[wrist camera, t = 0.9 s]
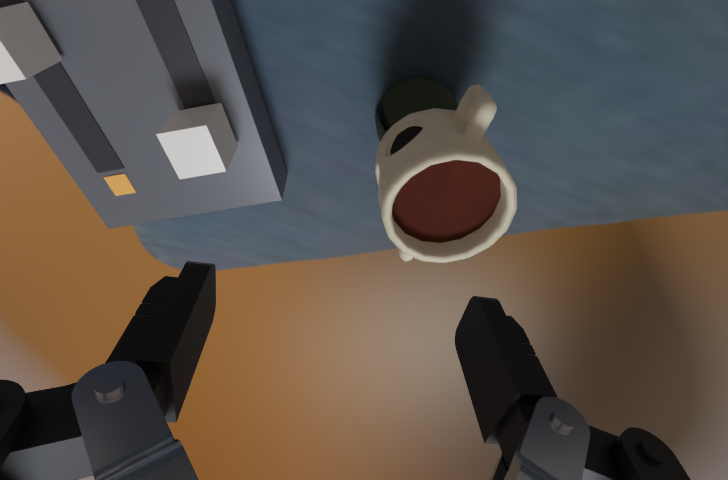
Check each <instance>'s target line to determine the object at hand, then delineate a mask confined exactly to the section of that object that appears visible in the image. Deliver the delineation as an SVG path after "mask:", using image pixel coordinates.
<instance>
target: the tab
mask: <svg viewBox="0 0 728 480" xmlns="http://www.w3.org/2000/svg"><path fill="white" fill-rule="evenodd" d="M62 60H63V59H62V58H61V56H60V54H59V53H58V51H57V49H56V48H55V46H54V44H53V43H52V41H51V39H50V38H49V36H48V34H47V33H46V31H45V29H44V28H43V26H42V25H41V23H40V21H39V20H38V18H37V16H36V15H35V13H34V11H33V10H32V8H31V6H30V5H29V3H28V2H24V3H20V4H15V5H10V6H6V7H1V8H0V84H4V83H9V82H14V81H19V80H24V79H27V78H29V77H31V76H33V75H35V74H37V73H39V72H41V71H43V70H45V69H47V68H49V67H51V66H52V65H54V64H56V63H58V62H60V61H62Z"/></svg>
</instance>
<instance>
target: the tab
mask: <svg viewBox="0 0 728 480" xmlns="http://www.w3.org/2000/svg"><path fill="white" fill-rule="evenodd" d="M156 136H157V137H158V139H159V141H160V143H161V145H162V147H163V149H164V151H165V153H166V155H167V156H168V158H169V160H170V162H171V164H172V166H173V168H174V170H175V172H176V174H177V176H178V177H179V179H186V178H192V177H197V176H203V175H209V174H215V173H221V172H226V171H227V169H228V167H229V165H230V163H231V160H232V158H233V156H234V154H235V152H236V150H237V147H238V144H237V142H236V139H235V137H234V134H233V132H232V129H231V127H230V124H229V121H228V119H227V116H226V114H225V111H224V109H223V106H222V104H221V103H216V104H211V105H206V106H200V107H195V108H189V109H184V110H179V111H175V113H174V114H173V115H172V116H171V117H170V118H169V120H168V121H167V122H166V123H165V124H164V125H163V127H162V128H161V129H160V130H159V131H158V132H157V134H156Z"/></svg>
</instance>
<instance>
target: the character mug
mask: <svg viewBox="0 0 728 480" xmlns="http://www.w3.org/2000/svg"><path fill="white" fill-rule="evenodd" d="M381 103H382V106H383V109H384V112H383V123H382V124H381V121H380V119H379V117H378V114H377V113H376V115H375V120H376V129H377V134H378V137H379V140H380V144H379V147H378V151H377V154H376V164H375V173H376V178H377V183H378V186H379V193H378V200H379V204H380V207H381V215H382V219H383V223H384V225H385V228H386V231H387V234H388V237H389V238H390V239H391V240H392V241H393V243H394V244H395V245H396V246H397V247H398V251H399V255H400V257H401V258H402V259H403V260H404V261H409V260H411V259H412V258H413V257H414V258H416V259H419V260H421V261H429V262H440V263H446V262H451V261H456V260H461V259H466V258H469V257H471V256H473V255H475V254H477V253H479V252H481V251H483V250H485V249H487V248H489V247H490V246H491V245H493V244H494V243H495V242H496V240H498V239H499V237H501V236H502V235H503V234H504V233H505V232H506V231H507V230H508V228H509V226H510V223H511V221H512V219H513V217H514V215H515V212H516V210H517V187H516V185H515V182H514V180H513V179H512V177H511V175H510V174H509V172H508V170H507V168H506V167H505V165H504V163H503V162H502V160H501V158H500V157H499V155H498V154H497V152H496V151H495V149H494V148H493V146H492V144H491V143H490V141H489V140H488V138H487V137H486V135H485V134H484V133H485V131H486V130H487V128H488V126H489V124H490V123H491V121H492V119H493V117H494V115H495V112H496V110H497V107H496V103H495V102H494V100H493V99H492V98H491V97H490V95H489V94H488V93H487V92H486V90H485V89H484V88H483V87H482V86H481V85H470V87H469V88H468V90H467V91H466V93H465V94H464V96H463V98H462V99H461V101H460V103H459V105H457V103H456V101H455V99H454V97H453V95H452V93H451V91H450V90H449V89H447V88H446V87H444V86H443V85H441V84H440V83H439V82H437V81H436V80H431V79H425V78H419V77H414V78H411V79H408V80H406V81H403V82H400V83H397V84H396V85H395V86H393V87H392V88H391V89H390V90H389V91H388V92H387V93H386V94H385V95H384V96H383V97H382V100H381Z"/></svg>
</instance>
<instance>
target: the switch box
mask: <svg viewBox="0 0 728 480" xmlns="http://www.w3.org/2000/svg"><path fill="white" fill-rule="evenodd" d="M24 2H28V3H29V5H30V6H31V8H32V10H33V11H34V13H35V15H36V16H37V18H38V20H39V21H40V23H41V25H42V26H43V28H44V29H45V31H46V33H47V34H48V36H49V38H50V39H51V41H52V43H53V44H54V46H55V48H56V49H57V51H58V53H59V54H60V56H61V58H62V59H63V60H62V61H60V62H58V63H56V64H54V65H52V66H51V67H49V68H47V69H45V70H43V71H41V72H39V73H37V74H35V75H33V76H31V77H29V78H27V79H24V80H19V81H14V82H9V83H5V84H6V86H7V87H8V88H9V90H10V91H11V93H12V94H13V95H14V97H15V98H16V100H17V101H18V102H19V104H20V105H21V107H22V108H23V109H24V111H25V112H26V114H27V115H28V116H29V118H30V119H31V121H32V122H33V123H34V125H35V126H36V127H37V129H38V130H39V132H40V133H41V135H42V136H43V137H44V139H45V140H46V142H47V143H48V144H49V146H50V147H51V148H52V150H53V151H54V153H55V154H56V155H57V157H58V158H59V160H60V161H61V162H62V164H63V165H64V166H65V168H66V169H67V171H68V172H69V173H70V175H71V176H72V178H73V179H74V181H75V182H76V183H77V185H78V186H79V188H80V189H81V190H82V192H83V193H84V195H85V196H86V197H87V199H88V200H89V201H90V203H91V204H92V205H93V207H94V208H95V210H96V211H97V213H98V214H99V215H100V217H101V218H102V220H103V221H104V222H105V224H106V225H107V226H108V228H115V227H121V226H127V225H133V224H140V223H146V222H152V221H158V220H164V219H170V218H176V217H182V216H188V215H194V214H200V213H206V212H212V211H219V210H225V209H231V208H237V207H243V206H249V205H255V204H261V203H267V202H273V201H279V200H282V197H283V193H284V188H285V184H286V179H287V174H288V173H287V170H286V167H285V164H284V161H283V158H282V155H281V152H280V149H279V146H278V143H277V140H276V137H275V134H274V130H273V127H272V124H271V121H270V118H269V115H268V112H267V109H266V106H265V103H264V100H263V97H262V94H261V91H260V88H259V85H258V82H257V78H256V75H255V72H254V69H253V66H252V63H251V60H250V57H249V54H248V51H247V48H246V45H245V42H244V39H243V36H242V33H241V30H240V26H239V23H238V20H237V17H236V14H235V11H234V8H233V5H232V2H231V0H0V8H1V7H6V6H10V5H15V4H20V3H24ZM216 103H221V104H222V106H223V109H224V111H225V114H226V116H227V119H228V121H229V124H230V127H231V129H232V132H233V134H234V137H235V139H236V142H237V144H238V147H237V150H236V152H235V154H234V156H233V158H232V160H231V163H230V165H229V167H228V169H227V171H226V172H221V173H215V174H209V175H203V176H197V177H192V178H186V179H179V177H178V176H177V174H176V172H175V170H174V168H173V166H172V164H171V162H170V160H169V158H168V156H167V155H166V153H165V151H164V149H163V147H162V145H161V143H160V141H159V139H158V137H157V136H156V134H157V132H158V131H159V130H160V129H161V128H162V127H163V125H164V124H165V123H166V122H167V121H168V120H169V118H170V117H171V116H172V115H173V114H174V113H175V111H179V110H184V109H189V108H195V107H200V106H206V105H211V104H216Z"/></svg>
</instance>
